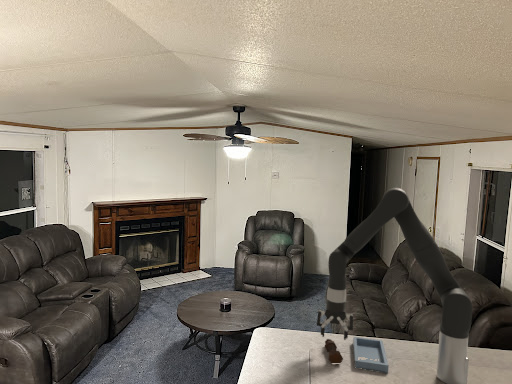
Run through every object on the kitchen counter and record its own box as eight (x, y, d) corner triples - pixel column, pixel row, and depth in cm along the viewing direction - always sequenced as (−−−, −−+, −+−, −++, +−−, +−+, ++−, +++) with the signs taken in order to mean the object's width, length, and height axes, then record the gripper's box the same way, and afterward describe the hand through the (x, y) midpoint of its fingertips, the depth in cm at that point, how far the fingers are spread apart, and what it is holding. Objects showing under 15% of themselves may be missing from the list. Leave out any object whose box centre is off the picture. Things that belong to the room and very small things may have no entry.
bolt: (330, 350, 158) (337, 368, 143) (320, 344, 158) (326, 361, 143) (337, 339, 158) (345, 356, 143) (327, 333, 158) (334, 349, 143)
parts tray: (382, 347, 159) (382, 340, 159) (388, 373, 139) (388, 365, 139) (353, 343, 162) (353, 336, 162) (354, 368, 141) (355, 360, 141)
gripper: (354, 297, 152) (351, 336, 153) (319, 293, 155) (316, 331, 156) (355, 304, 145) (352, 344, 146) (318, 299, 148) (315, 339, 149)
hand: (333, 337), depth 151 cm, fingers open, 8 cm apart
